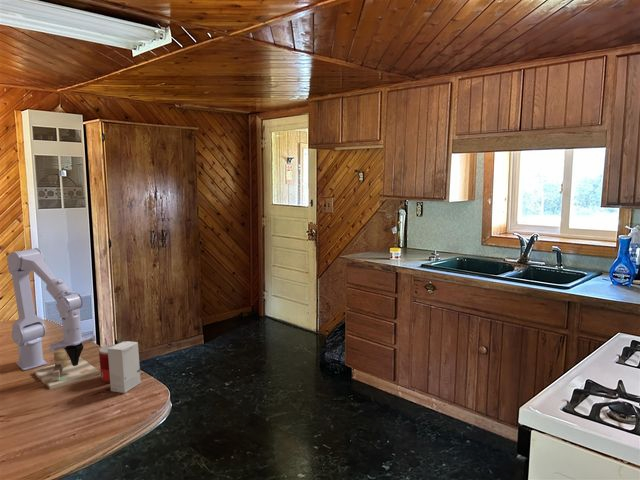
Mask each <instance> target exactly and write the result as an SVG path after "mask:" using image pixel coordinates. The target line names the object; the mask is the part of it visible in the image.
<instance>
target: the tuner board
mask: <svg viewBox="0 0 640 480" xmlns="http://www.w3.org/2000/svg"><path fill="white" fill-rule="evenodd" d="M67 363H68V365H67V366H65V367H63V370H62V373H61V376H60V377H64V376H67V380H62V381H56V382H50V380H51V379H52V372H53V370H54V368H55V363H54V364H50V365H47V366H43V367H40V368H37V369H34V370H33V374H34V375H35V376H36V377H37V378H38V379H39V380H40V381H41V382H42V383H43V384H44V385H45V386H46V387H47V388H48V389H49V390H53V389H56V388H59V387H62V386H66V385H69V384H72V383H76V382H78V381H82V380H85V379H88V378H91V377H94V376H98V375H101V371H100V370H99V369H97V368H96V367H95V366H94V365H92V364H91V363H89V362H88V361H87V360H85V359H84V358H82V357H81V356H80V357H79V361H78V365H77V366H73V365H72V363H71V360H70V359H69V360H67ZM85 369H89V370H90V371H88V372H86V373H84V374H83V373H79V372H81V371H83V370H85Z"/></svg>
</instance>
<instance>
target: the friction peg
mask: <svg viewBox="0 0 640 480" xmlns="http://www.w3.org/2000/svg"><path fill="white" fill-rule="evenodd" d="M53 356H54V357H53V359H54V364H55V368H54V370H53V372H52V378H53V381H55V380H60V376H61V373H62V370H63V367H65V366H67V365H68V363H67V361H68V354H67V352H66V351H65V349H64V350H63V349H62V350H56V351H54V353H53Z"/></svg>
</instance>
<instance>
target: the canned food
mask: <svg viewBox="0 0 640 480" xmlns="http://www.w3.org/2000/svg"><path fill="white" fill-rule="evenodd" d="M116 344H117V343H116ZM116 344H108V345H107V344H106V345H104V346H102V347H101V348H99V349H98V350H99V351H98V357H99V367H100V370H99V371H100V377H101V378H100V379H101V381H102V382H104V383H109V384H110V372H109V360H108V348H111V347H113V346H115V345H116Z"/></svg>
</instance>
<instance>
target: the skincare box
mask: <svg viewBox="0 0 640 480" xmlns="http://www.w3.org/2000/svg"><path fill="white" fill-rule="evenodd" d="M108 360H109V372H110V383H109V384H110V391H111V392H116V393H119V394H126V393H128V392H129V391H130V390H132V389H134V388H135V387H136V386H139V385H140V384H141V382H142V381H141V367H140V354H139V342H138V341H128V340H127V341H125V340H124V341H121V342H120V343H116V345H115V346H113V347H111V348H108Z"/></svg>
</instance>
